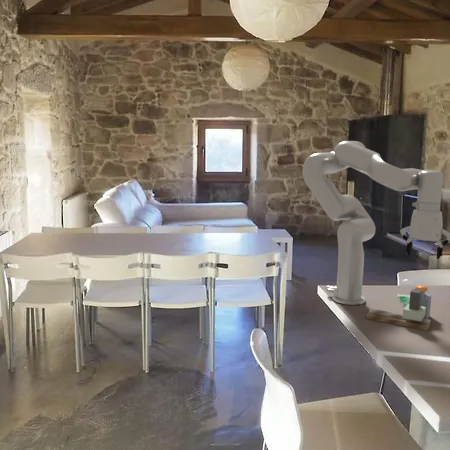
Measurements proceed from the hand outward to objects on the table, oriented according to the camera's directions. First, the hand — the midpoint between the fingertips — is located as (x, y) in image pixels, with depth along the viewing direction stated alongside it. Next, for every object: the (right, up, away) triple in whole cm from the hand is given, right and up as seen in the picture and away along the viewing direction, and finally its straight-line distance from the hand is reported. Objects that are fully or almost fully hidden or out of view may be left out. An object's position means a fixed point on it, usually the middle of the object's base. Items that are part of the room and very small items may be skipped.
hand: (423, 256), depth 183 cm
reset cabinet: (0, -22, +4) cm, 22 cm away
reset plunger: (0, -16, +3) cm, 16 cm away
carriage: (-5, -20, -4) cm, 21 cm away
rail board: (-9, -22, -1) cm, 24 cm away
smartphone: (+2, -19, +21) cm, 29 cm away
